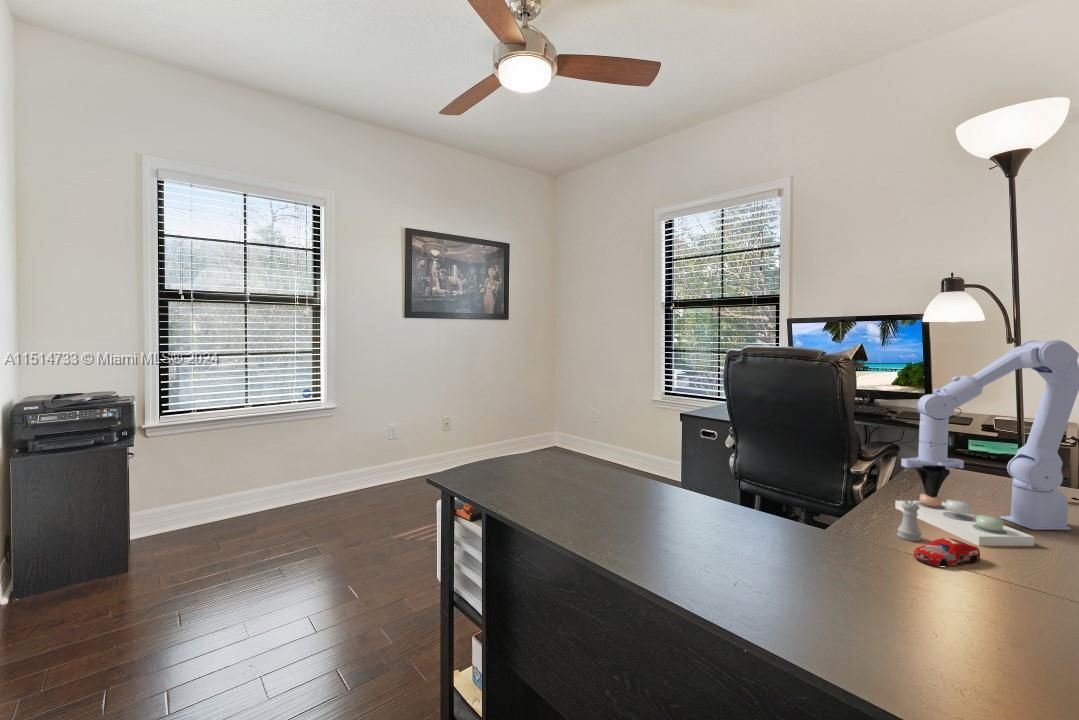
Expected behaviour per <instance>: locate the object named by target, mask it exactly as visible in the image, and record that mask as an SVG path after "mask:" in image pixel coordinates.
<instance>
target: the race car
mask: <svg viewBox="0 0 1079 720" xmlns="http://www.w3.org/2000/svg"><path fill="white" fill-rule="evenodd" d="M913 557H914V558H915V559H916V558H917V559H916V560H917V561H919V560H920V562H921V563H924V562H925V564H927V563H928V565H930V564H931V566H934V565H935V567H937V566H946V567H952V566H958V565H967V564H971V565H972V564H976V563H977V562H980V561H981V551H980V549H979V547H977V545H975V544H971V543H968V542H965V541H963V540H962V541H961V540H958V539H955V538H952V537H943V538H937V539H934V540H932V541H931V542H929V541H926V544H925V545H920V546H918V547H916V548H915V549H913Z"/></svg>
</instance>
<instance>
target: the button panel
mask: <svg viewBox="0 0 1079 720" xmlns="http://www.w3.org/2000/svg"><path fill="white" fill-rule="evenodd" d="M903 501H904V500H895V505H894V506H895V507H894V508H895V509H896V510H898V511H900V512H903V510H904V508H903V507H902V506H901V505H902V504H903ZM910 501H911V500H908V503H910ZM912 501H913V503H914V502H917V503H918V506H919V509H918V510H917V514H918V515H917V520H918V519H919V520H920V521H922V522H925V523H927V524H929V525H932V526H934V527H936V528H938V529H941V530H943V531H945V532H947V533H950V534H952V535H954V536H956V537H958V538H961V539H963V540H965V541H967V542H970V543H972V544H973V545H975V546H979V547H1034V546H1035V536H1034V535H1031V534H1029V533H1028V534H1027V533H1025V532H1023V531H1020V530H1017V529H1015V528H1012V527H1009V526H1007V525H1004V524H1003V531H990V530H986V529H982V528H980V527H978V526H976V518H977V516H978V514H977V513H973V512H971V513H970V514H962V513H956V512H952V511H949V510H947V509H946V502H944V501H942V506H941V507H932V506H927V505H923V504H921V503H920V500H912Z"/></svg>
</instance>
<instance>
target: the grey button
mask: <svg viewBox="0 0 1079 720" xmlns="http://www.w3.org/2000/svg"><path fill="white" fill-rule="evenodd" d="M945 503H946V509H947V510H949V511H952V512H956V513H962V514H970V513H972V512H971V509H972V507H971V506H972V503H970V502H969V501H968V502H967V501H965V500H960V499H951V498H950V499H946V501H945Z"/></svg>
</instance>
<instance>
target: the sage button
mask: <svg viewBox="0 0 1079 720" xmlns="http://www.w3.org/2000/svg"><path fill="white" fill-rule="evenodd" d="M977 515H978V514H977ZM1003 525H1004V519H1002V518H999V517H997V516H990V515H986V514H985V515H984V514H983V515H982V514H979V515H978V516H977V518H976V526H978V527H980V528H982V529H986V530H990V531H1003Z"/></svg>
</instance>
